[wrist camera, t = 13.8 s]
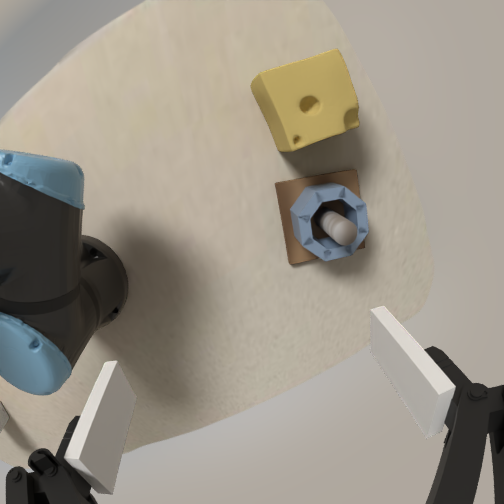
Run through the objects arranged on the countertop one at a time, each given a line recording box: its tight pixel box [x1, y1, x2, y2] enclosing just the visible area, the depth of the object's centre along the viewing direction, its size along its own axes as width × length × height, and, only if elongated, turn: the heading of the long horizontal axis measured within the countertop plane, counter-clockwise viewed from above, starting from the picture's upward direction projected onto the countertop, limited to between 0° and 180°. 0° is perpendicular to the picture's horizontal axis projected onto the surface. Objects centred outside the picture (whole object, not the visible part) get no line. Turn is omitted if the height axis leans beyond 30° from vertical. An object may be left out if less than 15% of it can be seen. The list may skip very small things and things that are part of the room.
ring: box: [290, 182, 369, 261], centre depth 43 cm, size 9×9×5 cm
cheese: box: [251, 49, 359, 152], centre depth 36 cm, size 10×11×10 cm
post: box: [275, 169, 365, 265], centre depth 41 cm, size 12×12×10 cm
